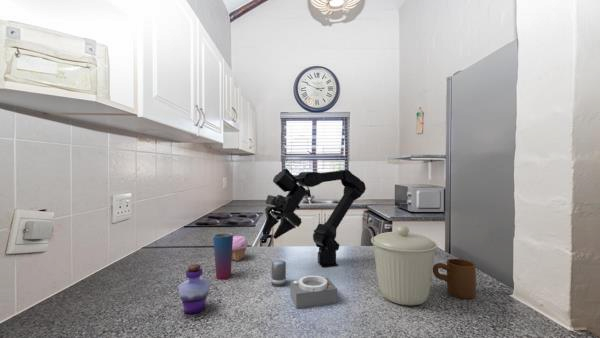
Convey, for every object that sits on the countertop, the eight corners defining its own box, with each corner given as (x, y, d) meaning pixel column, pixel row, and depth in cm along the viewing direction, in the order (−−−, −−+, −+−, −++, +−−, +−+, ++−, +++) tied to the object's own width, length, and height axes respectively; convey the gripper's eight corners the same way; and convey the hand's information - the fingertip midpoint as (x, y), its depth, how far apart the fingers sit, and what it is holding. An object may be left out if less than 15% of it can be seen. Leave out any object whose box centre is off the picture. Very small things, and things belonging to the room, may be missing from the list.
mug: (438, 299, 77) (438, 266, 77) (428, 287, 85) (427, 257, 85) (481, 300, 76) (481, 267, 76) (467, 288, 84) (467, 258, 84)
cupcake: (222, 260, 112) (221, 236, 112) (237, 254, 120) (237, 232, 120) (236, 264, 107) (236, 239, 107) (251, 258, 115) (251, 235, 115)
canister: (368, 306, 73) (367, 230, 73) (374, 280, 90) (373, 218, 90) (442, 319, 67) (441, 235, 67) (433, 288, 84) (432, 221, 84)
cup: (236, 273, 98) (235, 232, 98) (229, 281, 91) (229, 237, 91) (218, 272, 99) (217, 232, 99) (210, 280, 92) (209, 237, 92)
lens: (284, 280, 92) (284, 259, 92) (287, 286, 87) (287, 264, 87) (270, 281, 90) (269, 260, 90) (272, 288, 86) (271, 265, 86)
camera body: (327, 290, 83) (327, 273, 83) (337, 302, 75) (337, 284, 75) (290, 295, 80) (290, 277, 80) (296, 308, 72) (296, 289, 73)
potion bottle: (200, 298, 79) (200, 258, 79) (217, 308, 73) (216, 264, 73) (171, 310, 72) (170, 266, 72) (187, 322, 67) (186, 274, 67)
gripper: (267, 185, 103) (242, 218, 98) (290, 187, 87) (262, 227, 82) (286, 202, 108) (264, 234, 102) (312, 207, 92) (287, 246, 86)
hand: (268, 235), depth 93 cm, fingers open, 9 cm apart
